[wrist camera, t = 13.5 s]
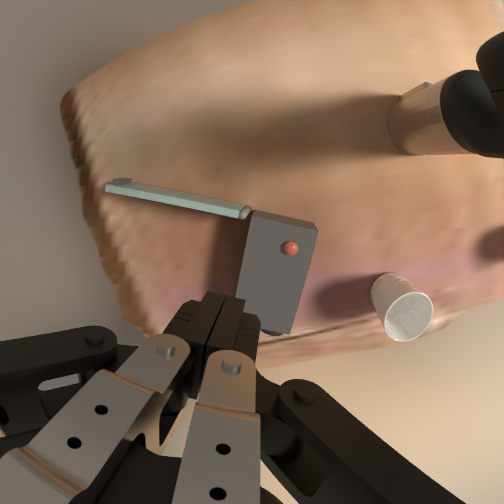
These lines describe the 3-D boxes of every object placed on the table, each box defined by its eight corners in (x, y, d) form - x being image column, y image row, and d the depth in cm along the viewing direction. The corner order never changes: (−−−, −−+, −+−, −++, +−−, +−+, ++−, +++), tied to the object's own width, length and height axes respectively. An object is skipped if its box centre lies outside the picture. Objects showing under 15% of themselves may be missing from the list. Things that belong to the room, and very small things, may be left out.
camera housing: (255, 209, 45) (251, 216, 39) (313, 222, 45) (318, 232, 39) (234, 311, 50) (228, 331, 44) (286, 323, 50) (287, 344, 44)
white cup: (364, 274, 47) (382, 299, 37) (408, 263, 45) (433, 286, 36) (368, 316, 48) (384, 347, 39) (409, 305, 47) (432, 334, 38)
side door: (253, 201, 45) (248, 206, 38) (250, 212, 45) (245, 220, 39) (127, 176, 45) (106, 179, 39) (125, 187, 46) (105, 191, 40)
